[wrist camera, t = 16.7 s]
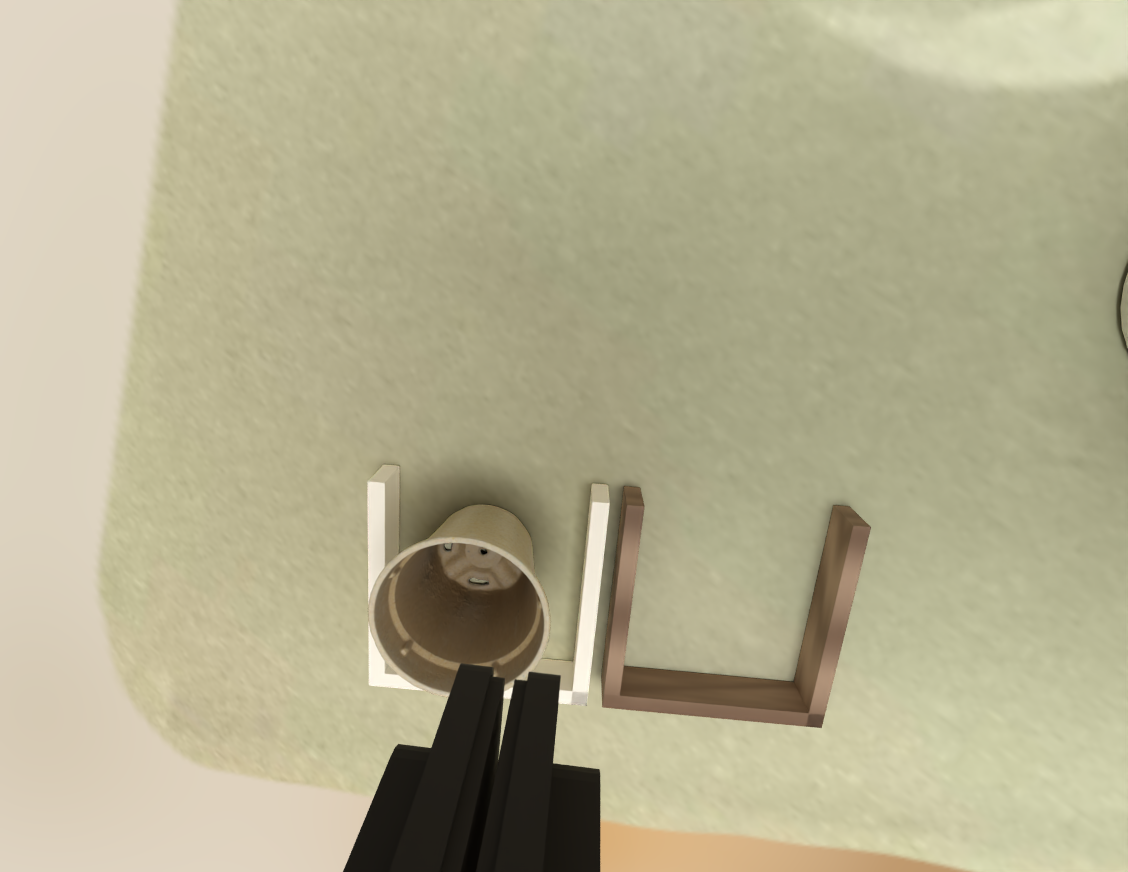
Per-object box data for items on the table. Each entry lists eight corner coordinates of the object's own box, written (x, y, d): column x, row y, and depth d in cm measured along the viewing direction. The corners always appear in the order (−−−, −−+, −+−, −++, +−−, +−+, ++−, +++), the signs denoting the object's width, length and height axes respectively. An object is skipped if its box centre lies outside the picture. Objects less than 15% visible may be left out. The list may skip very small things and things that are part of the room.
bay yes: (383, 464, 39) (367, 481, 36) (607, 484, 39) (609, 503, 36) (383, 656, 43) (369, 685, 40) (586, 675, 43) (586, 705, 40)
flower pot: (393, 494, 39) (342, 558, 31) (537, 463, 38) (525, 521, 30) (435, 622, 42) (398, 713, 33) (572, 596, 41) (569, 682, 33)
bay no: (623, 485, 39) (627, 504, 36) (849, 506, 38) (870, 527, 36) (601, 676, 43) (602, 707, 40) (805, 695, 42) (821, 727, 40)
